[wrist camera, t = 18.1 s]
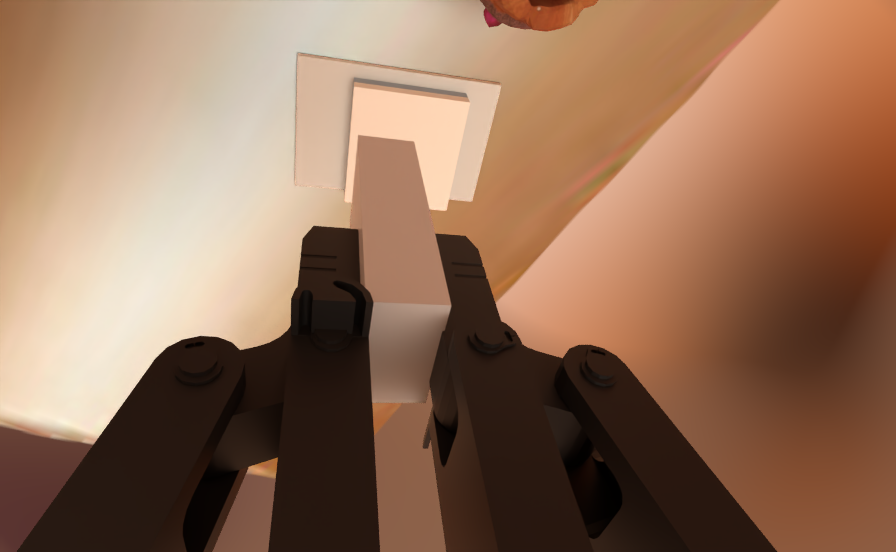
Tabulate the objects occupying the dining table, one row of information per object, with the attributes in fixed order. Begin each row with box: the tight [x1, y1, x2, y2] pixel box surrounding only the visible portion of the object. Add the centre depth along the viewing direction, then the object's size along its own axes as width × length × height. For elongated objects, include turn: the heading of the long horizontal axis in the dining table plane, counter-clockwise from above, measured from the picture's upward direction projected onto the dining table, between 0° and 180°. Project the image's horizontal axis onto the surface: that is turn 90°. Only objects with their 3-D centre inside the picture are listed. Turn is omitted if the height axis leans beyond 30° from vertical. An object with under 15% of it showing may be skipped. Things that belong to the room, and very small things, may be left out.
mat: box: [295, 53, 501, 202], centre depth 45 cm, size 11×16×1 cm
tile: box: [344, 77, 470, 211], centre depth 44 cm, size 10×2×9 cm
